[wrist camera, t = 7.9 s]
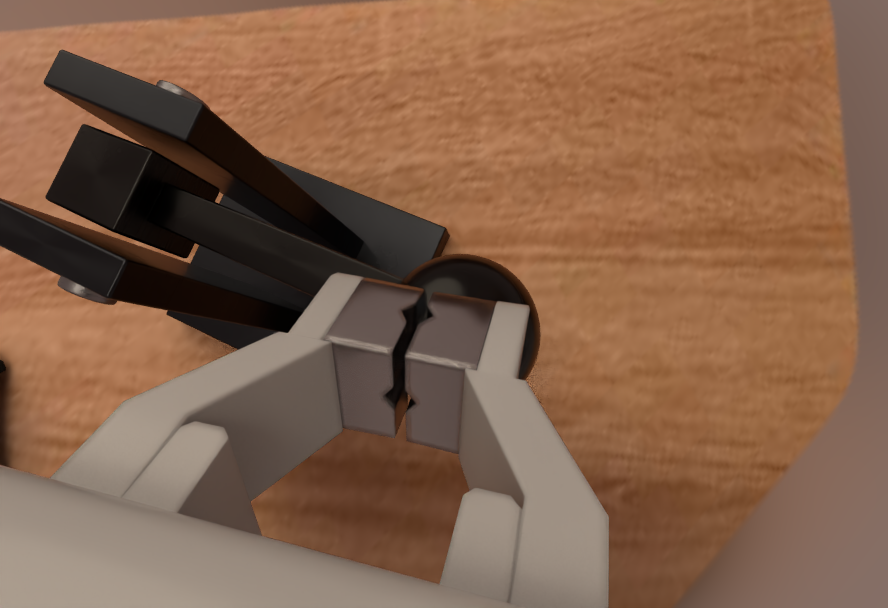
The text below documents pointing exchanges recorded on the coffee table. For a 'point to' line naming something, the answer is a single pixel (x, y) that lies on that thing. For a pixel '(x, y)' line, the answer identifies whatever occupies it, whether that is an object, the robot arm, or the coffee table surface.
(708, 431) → the coffee table surface
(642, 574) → the coffee table surface
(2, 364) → the game controller
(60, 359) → the coffee table surface
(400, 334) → the robot arm
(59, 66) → the lever bracket
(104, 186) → the press lever
